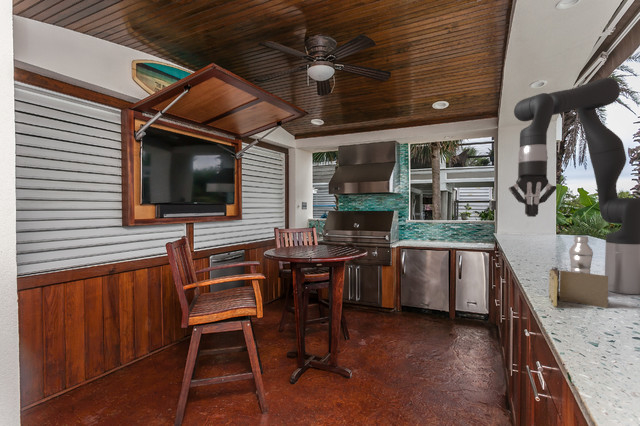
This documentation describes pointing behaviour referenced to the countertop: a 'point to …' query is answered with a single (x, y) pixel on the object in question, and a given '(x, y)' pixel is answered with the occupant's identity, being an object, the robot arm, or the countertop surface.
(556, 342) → the countertop surface
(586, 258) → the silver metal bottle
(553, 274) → the plate
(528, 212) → the robot arm
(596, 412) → the countertop surface
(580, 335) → the countertop surface
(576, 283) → the hinge mount
